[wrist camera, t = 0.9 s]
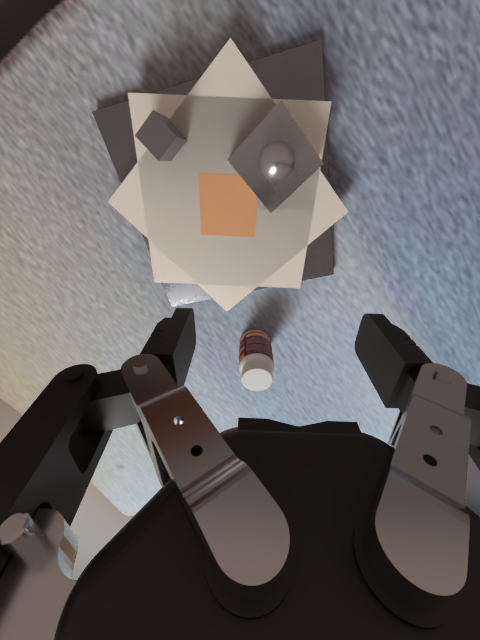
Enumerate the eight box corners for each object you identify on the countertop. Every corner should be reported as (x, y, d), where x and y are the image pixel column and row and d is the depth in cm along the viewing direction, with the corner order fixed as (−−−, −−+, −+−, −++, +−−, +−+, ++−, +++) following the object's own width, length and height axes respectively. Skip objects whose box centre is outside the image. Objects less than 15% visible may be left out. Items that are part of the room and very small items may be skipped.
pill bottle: (237, 330, 40) (235, 368, 33) (269, 326, 39) (274, 364, 32) (242, 355, 42) (241, 395, 35) (271, 352, 42) (277, 391, 35)
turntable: (391, 211, 29) (421, 222, 24) (227, 337, 39) (224, 365, 34) (232, -53, 20) (228, -126, 15) (66, 197, 29) (28, 205, 24)
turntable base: (319, 43, 24) (321, 38, 23) (331, 271, 35) (333, 274, 34) (97, 113, 27) (92, 111, 26) (173, 303, 38) (171, 306, 37)
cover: (277, 106, 24) (283, 95, 20) (315, 163, 26) (328, 164, 22) (229, 160, 26) (226, 159, 22) (268, 208, 28) (272, 216, 24)
